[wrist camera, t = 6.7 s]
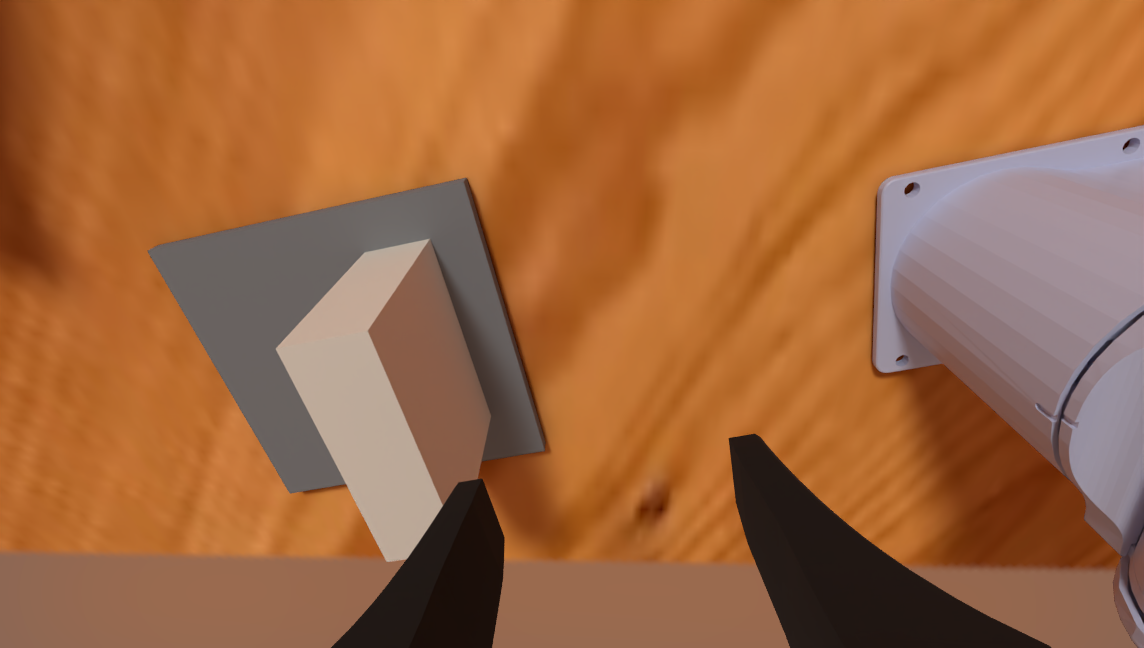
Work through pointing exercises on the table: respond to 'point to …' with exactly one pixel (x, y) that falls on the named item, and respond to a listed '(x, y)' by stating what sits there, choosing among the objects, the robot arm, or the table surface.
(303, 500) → the table surface
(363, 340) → the block
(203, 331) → the mat
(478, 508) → the robot arm
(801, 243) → the table surface
